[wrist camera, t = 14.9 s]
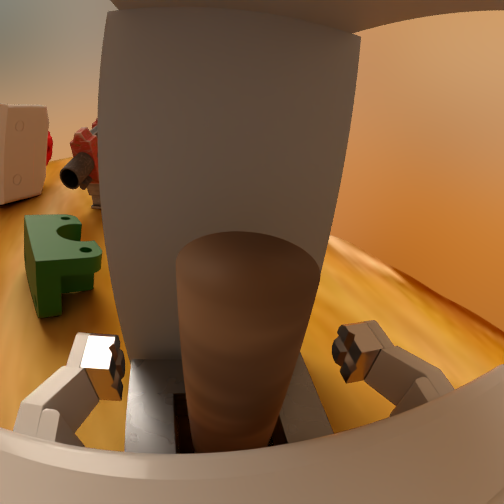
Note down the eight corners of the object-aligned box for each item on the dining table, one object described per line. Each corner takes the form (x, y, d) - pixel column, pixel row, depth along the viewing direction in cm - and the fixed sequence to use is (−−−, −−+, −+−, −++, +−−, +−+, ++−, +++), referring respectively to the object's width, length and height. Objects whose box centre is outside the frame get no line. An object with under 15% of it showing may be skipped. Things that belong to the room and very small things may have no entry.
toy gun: (79, 235, 39) (48, 148, 28) (130, 164, 53) (120, 93, 42) (99, 238, 39) (71, 147, 28) (148, 165, 53) (139, 92, 42)
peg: (198, 484, 11) (173, 310, 5) (192, 428, 14) (178, 230, 9) (268, 477, 12) (343, 302, 6) (254, 424, 15) (294, 232, 9)
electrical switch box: (63, 196, 51) (70, 99, 44) (4, 211, 37) (9, 97, 31) (32, 189, 55) (37, 106, 48) (-19, 201, 41) (-15, 107, 34)
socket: (139, 534, 8) (125, 528, 7) (139, 383, 16) (132, 358, 15) (341, 510, 10) (360, 499, 9) (292, 375, 18) (299, 351, 17)
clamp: (95, 333, 25) (113, 273, 20) (40, 343, 20) (38, 280, 16) (68, 244, 30) (82, 180, 25) (22, 247, 26) (28, 179, 21)
